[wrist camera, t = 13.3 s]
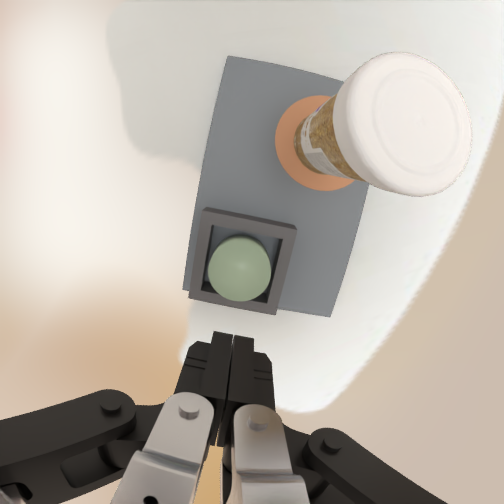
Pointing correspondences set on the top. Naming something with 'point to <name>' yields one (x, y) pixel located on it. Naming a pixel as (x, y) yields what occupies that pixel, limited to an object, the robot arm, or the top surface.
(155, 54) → the top surface
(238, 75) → the slate board
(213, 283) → the button
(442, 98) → the sprinkles bottle
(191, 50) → the top surface
